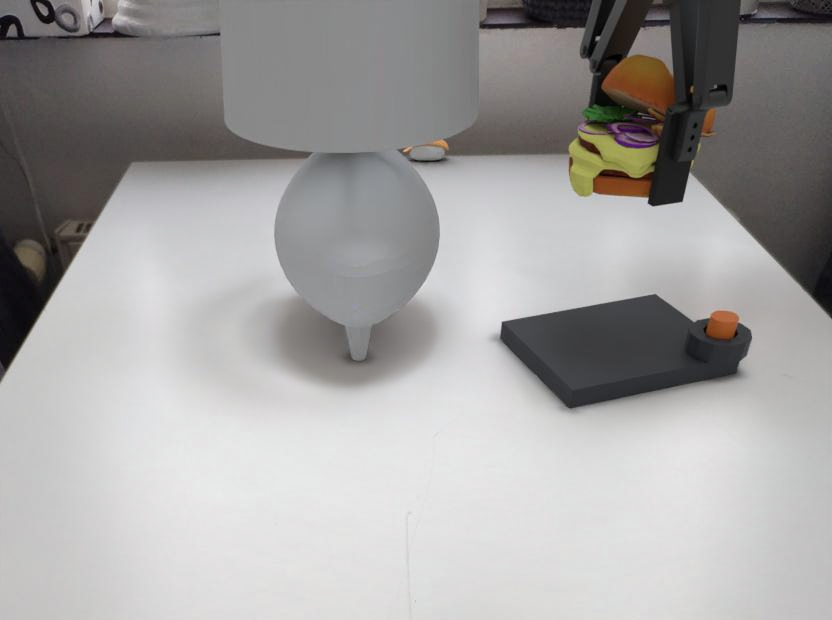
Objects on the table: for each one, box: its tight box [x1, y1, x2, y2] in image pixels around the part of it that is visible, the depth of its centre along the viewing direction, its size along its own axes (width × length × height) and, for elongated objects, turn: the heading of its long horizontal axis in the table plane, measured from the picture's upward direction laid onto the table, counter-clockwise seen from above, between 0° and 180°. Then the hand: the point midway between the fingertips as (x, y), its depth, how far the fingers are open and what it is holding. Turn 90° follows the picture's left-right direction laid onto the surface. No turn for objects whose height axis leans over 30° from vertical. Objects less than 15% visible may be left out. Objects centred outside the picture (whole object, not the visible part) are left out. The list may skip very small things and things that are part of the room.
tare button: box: [706, 309, 740, 339], centre depth 79 cm, size 2×2×2 cm
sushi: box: [402, 139, 450, 162], centre depth 124 cm, size 3×6×3 cm, turn 88°
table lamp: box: [218, 0, 480, 362], centre depth 75 cm, size 23×22×40 cm
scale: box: [499, 293, 753, 409], centre depth 83 cm, size 18×15×4 cm
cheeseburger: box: [568, 53, 717, 199], centre depth 71 cm, size 10×11×10 cm
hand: (629, 181), depth 73 cm, fingers closed on cheeseburger, 10 cm apart
